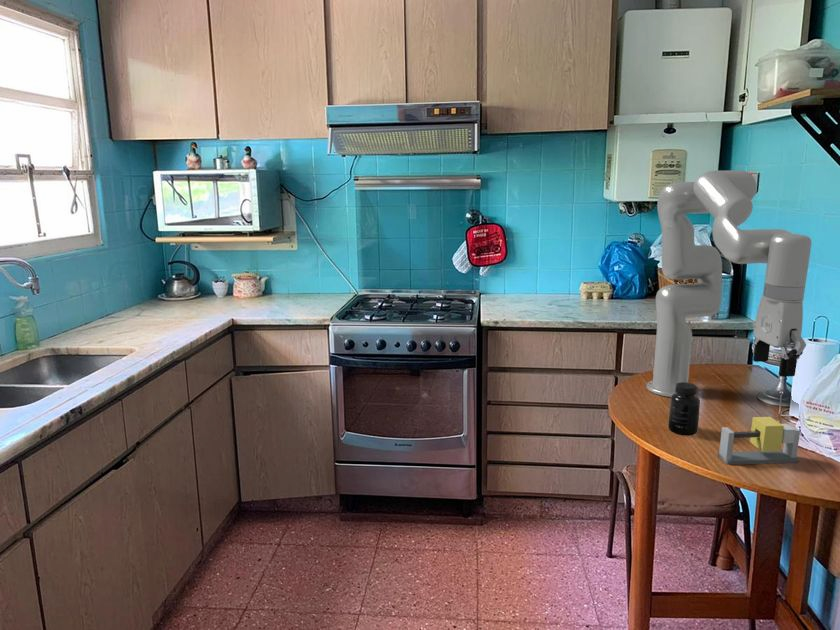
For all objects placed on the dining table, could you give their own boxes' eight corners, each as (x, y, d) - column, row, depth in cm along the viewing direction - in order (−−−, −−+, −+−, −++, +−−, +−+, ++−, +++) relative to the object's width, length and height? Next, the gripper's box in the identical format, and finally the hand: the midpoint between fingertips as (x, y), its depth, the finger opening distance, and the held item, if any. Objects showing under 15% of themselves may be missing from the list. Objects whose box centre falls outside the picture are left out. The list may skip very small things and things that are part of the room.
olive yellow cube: (749, 441, 140) (752, 417, 139) (766, 441, 140) (770, 416, 139) (762, 451, 135) (765, 426, 134) (780, 451, 135) (783, 425, 134)
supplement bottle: (672, 422, 158) (676, 378, 156) (700, 429, 154) (705, 384, 151) (663, 431, 153) (667, 386, 150) (692, 438, 149) (697, 392, 146)
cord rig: (717, 455, 140) (720, 424, 138) (785, 453, 141) (790, 422, 139) (727, 464, 136) (730, 432, 134) (798, 462, 137) (802, 430, 135)
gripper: (744, 284, 139) (735, 356, 144) (791, 302, 123) (779, 382, 127) (776, 284, 140) (766, 355, 144) (828, 301, 123) (815, 381, 127)
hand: (772, 368), depth 135 cm, fingers open, 9 cm apart
